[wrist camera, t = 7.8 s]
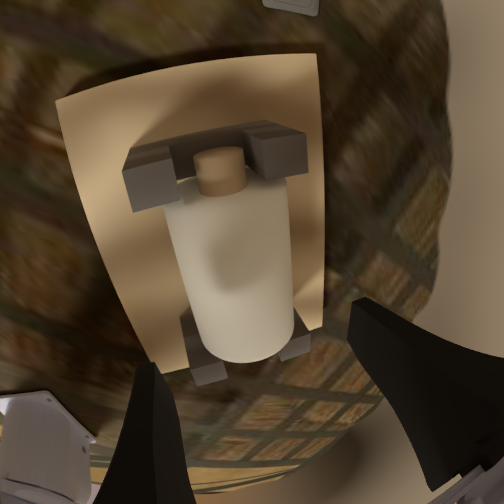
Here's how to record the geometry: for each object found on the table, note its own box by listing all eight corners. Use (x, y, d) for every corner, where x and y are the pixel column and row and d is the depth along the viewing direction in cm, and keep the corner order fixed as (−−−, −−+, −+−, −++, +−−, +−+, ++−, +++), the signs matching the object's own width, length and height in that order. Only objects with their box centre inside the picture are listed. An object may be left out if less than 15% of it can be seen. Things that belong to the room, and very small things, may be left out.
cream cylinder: (262, 301, 21) (312, 348, 17) (192, 336, 19) (232, 395, 15) (241, 133, 15) (311, 149, 11) (141, 160, 13) (177, 186, 9)
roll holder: (315, 316, 25) (349, 366, 20) (156, 362, 22) (164, 424, 17) (305, 54, 14) (367, 49, 10) (62, 100, 12) (20, 107, 7)
